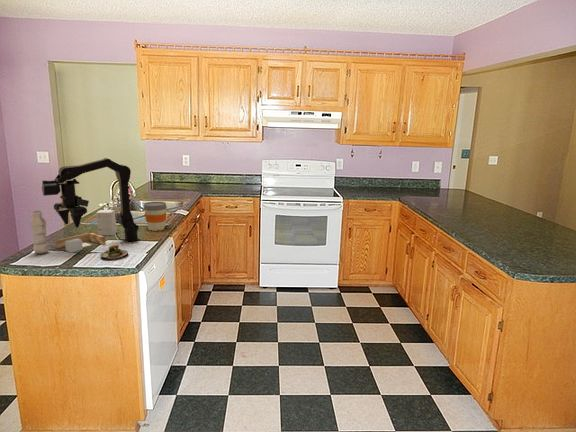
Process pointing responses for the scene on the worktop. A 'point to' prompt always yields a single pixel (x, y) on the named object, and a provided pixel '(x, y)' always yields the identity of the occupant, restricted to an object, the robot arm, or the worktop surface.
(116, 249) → the burger
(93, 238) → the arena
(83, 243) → the pad
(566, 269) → the worktop surface
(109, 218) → the small box
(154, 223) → the reusable coffee cup
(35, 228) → the plastic bottle
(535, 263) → the worktop surface
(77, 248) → the block
